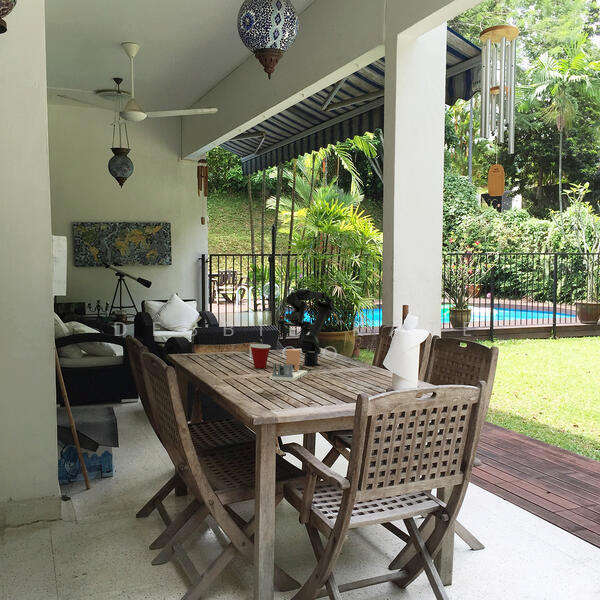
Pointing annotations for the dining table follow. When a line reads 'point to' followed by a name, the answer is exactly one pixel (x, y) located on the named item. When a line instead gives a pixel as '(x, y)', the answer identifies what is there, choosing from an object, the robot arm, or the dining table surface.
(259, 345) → the plastic cup
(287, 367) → the connector and comb
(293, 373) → the cord board
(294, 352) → the marker sleeve
